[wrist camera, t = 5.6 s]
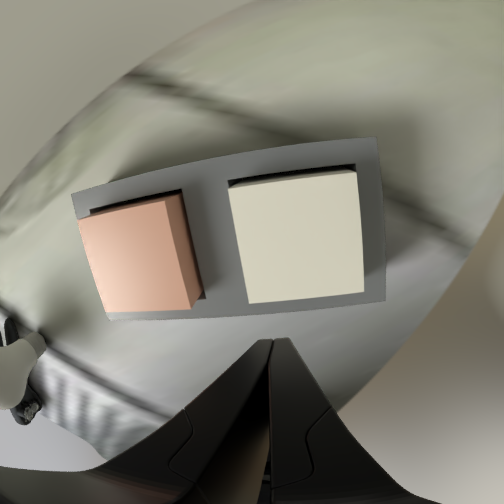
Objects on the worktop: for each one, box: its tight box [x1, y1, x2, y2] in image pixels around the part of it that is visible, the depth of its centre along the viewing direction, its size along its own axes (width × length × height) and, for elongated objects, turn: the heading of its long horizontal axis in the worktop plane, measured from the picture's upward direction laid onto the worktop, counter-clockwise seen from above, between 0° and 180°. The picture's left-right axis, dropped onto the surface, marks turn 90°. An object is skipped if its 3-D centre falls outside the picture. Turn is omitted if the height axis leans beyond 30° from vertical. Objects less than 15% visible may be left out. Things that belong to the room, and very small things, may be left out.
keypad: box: [71, 137, 386, 320], centre depth 18 cm, size 9×17×4 cm, turn 100°
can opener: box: [0, 318, 42, 425], centre depth 27 cm, size 18×7×6 cm, turn 164°
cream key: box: [228, 167, 364, 304], centre depth 16 cm, size 6×6×4 cm
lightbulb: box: [0, 332, 46, 410], centre depth 21 cm, size 6×6×11 cm
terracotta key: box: [77, 190, 204, 312], centre depth 17 cm, size 6×6×4 cm
